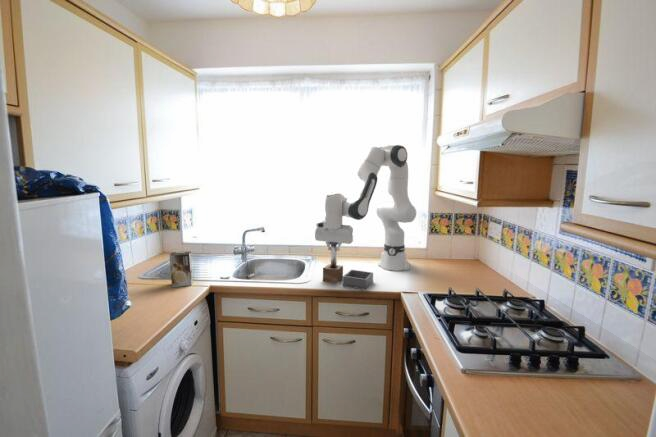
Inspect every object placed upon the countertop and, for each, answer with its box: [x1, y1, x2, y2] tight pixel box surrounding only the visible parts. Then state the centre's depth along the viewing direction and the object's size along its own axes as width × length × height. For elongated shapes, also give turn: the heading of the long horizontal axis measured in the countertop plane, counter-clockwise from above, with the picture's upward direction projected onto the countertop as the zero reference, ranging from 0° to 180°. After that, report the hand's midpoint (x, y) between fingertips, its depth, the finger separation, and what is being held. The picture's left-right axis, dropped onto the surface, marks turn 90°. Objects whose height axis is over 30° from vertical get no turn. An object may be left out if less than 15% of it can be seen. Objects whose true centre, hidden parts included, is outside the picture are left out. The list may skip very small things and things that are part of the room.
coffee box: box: [169, 251, 194, 288], centre depth 155 cm, size 9×6×16 cm
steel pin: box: [329, 242, 338, 268], centre depth 163 cm, size 5×5×14 cm
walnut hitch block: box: [322, 263, 344, 284], centre depth 165 cm, size 8×8×7 cm
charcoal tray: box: [342, 269, 374, 290], centre depth 159 cm, size 12×12×5 cm
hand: (333, 250), depth 163 cm, fingers closed on steel pin, 3 cm apart
